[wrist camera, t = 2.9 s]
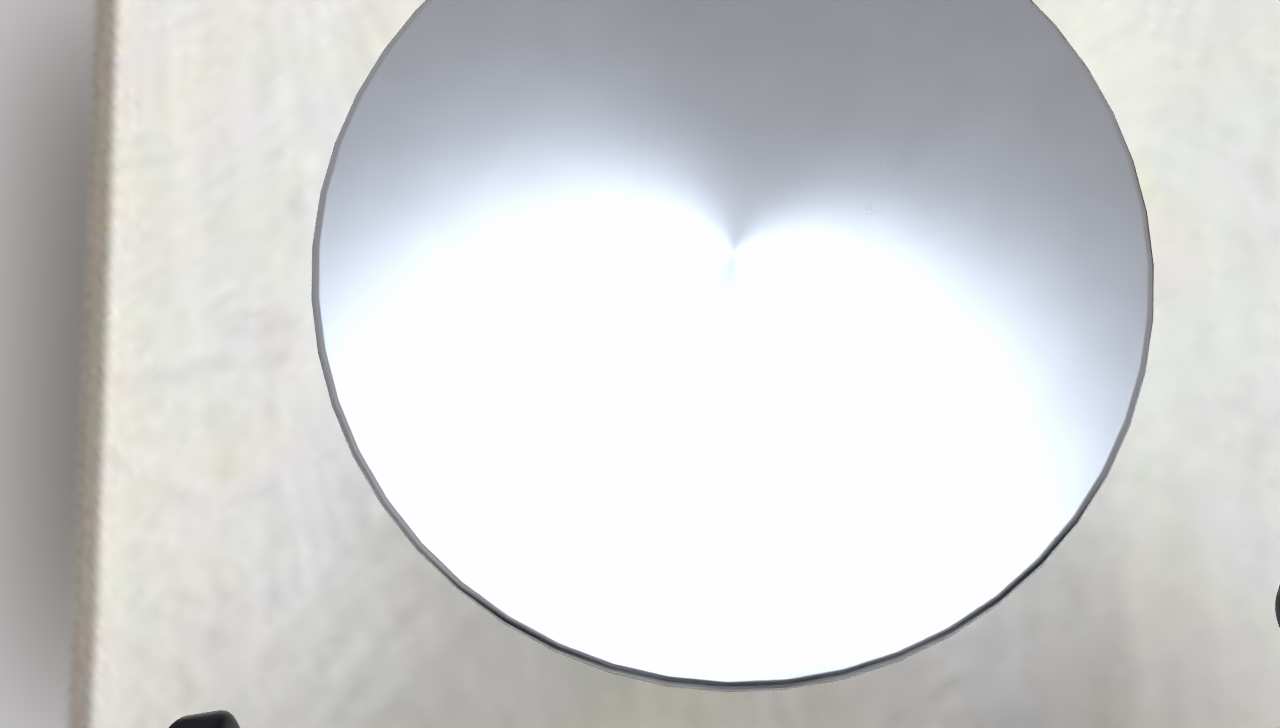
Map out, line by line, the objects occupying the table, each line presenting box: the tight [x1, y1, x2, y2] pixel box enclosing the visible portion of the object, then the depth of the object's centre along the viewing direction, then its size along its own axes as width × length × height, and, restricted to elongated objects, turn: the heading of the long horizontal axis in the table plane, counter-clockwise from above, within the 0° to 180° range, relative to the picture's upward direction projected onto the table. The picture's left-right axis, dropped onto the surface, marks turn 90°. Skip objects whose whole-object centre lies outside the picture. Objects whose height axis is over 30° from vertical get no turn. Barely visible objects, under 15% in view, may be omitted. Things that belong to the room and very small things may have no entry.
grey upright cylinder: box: [312, 0, 1154, 692], centre depth 14 cm, size 6×6×12 cm
